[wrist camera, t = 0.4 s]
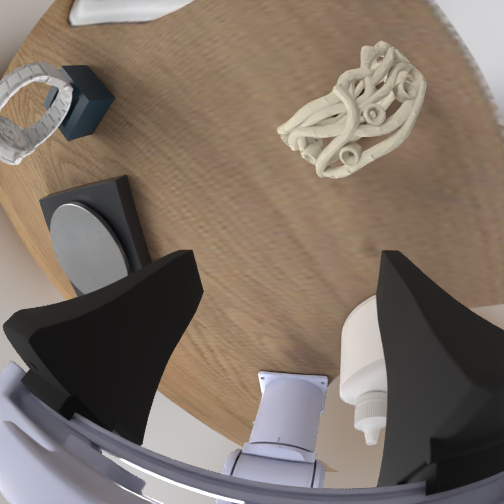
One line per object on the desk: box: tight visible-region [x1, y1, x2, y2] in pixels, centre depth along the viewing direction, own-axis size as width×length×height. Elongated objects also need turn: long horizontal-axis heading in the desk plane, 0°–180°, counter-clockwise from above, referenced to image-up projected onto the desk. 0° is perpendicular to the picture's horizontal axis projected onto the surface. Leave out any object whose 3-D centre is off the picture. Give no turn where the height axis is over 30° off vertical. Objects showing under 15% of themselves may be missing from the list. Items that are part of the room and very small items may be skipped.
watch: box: [0, 61, 115, 165], centre depth 14 cm, size 6×8×11 cm
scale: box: [39, 175, 152, 297], centre depth 26 cm, size 14×14×2 cm
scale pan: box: [50, 202, 131, 294], centre depth 25 cm, size 12×12×1 cm
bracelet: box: [277, 41, 427, 179], centre depth 11 cm, size 4×8×8 cm, turn 139°
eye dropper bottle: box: [340, 295, 387, 445], centre depth 17 cm, size 4×6×12 cm
